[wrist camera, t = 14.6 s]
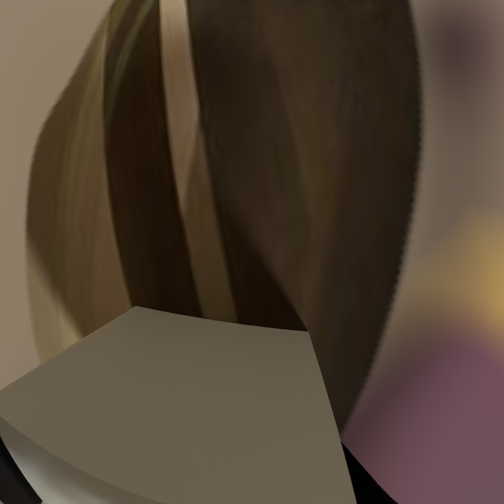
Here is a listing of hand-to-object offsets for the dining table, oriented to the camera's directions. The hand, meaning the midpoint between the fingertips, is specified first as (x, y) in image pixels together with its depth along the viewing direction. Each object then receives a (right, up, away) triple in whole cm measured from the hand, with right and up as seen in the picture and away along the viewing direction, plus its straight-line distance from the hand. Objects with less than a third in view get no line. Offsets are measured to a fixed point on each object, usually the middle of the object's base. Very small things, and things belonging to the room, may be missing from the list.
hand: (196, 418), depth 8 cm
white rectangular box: (0, -1, +3) cm, 3 cm away
